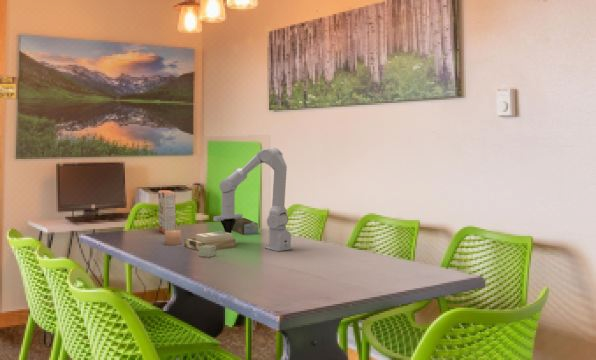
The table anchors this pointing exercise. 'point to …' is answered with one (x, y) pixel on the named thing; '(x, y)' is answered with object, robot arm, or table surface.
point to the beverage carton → (245, 227)
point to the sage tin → (207, 251)
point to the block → (173, 237)
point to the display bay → (209, 243)
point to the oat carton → (213, 236)
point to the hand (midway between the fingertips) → (228, 235)
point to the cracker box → (166, 210)
